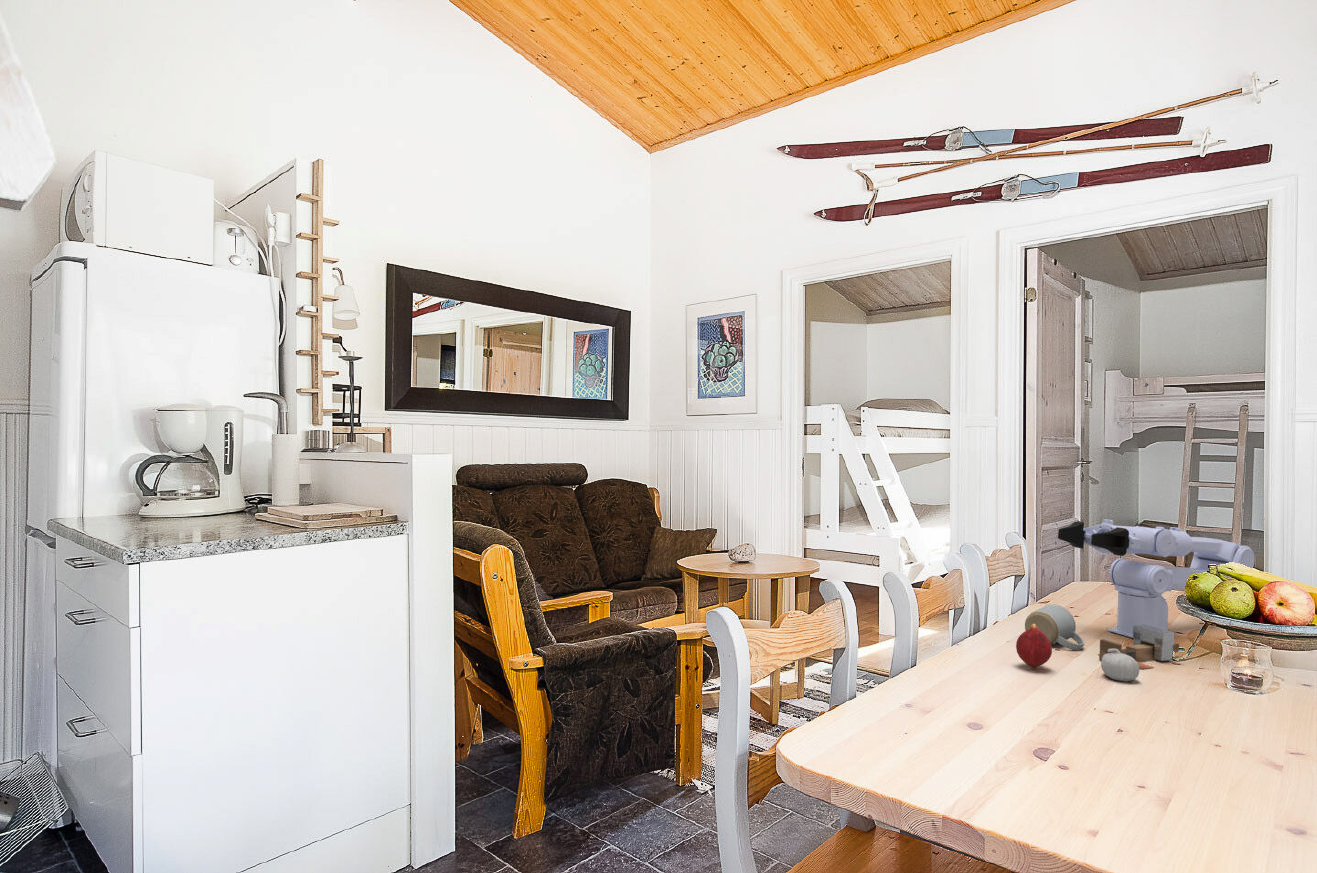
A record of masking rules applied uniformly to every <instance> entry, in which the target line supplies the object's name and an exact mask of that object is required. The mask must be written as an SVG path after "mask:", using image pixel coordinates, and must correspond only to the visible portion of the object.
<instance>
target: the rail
mask: <svg viewBox="0 0 1317 873" xmlns="http://www.w3.org/2000/svg"><path fill="white" fill-rule="evenodd" d="M1122 646H1123V645H1122V644H1121V643H1118V642H1115V641H1112V640H1108V639H1105V638H1102V639H1099V653H1097V656H1099V659H1098V660H1099V661H1100V662H1101V661H1102V657H1103V655H1104V654H1108V653H1117V652H1108V649H1118V650H1119V651H1120V653H1123V654H1127V655H1128V656H1131V657H1132V658H1133V659H1134V660H1135V661H1136V662H1137V663H1138V665H1139V670H1148V669H1154V668H1155V667H1154V666H1153V665H1149V664H1146V663H1142V662H1149V661H1157V659H1154V650H1155V644H1153V643H1148V644H1140V645H1133V644H1132V645H1126V646H1125V648H1123V647H1122ZM1173 651H1174V652H1175V653H1176V652H1178V651H1179V652H1180V643H1178V642H1174V645H1173Z"/></svg>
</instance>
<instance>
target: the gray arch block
mask: <svg viewBox="0 0 1317 873" xmlns="http://www.w3.org/2000/svg"><path fill="white" fill-rule="evenodd" d="M1132 639H1133V642H1132V643H1133V644H1132V645H1140V644H1148V643H1153V644H1155V650H1154V659H1157V660H1158V661H1161V662H1164V661H1172V660H1173V658H1172V654H1173V645H1174V643H1175V632H1174V631H1171V630H1168V629H1167V630H1163V629H1159V628H1156V627H1152V626H1148V625H1144V624H1143V625H1133V638H1132ZM1157 660H1156V661H1157Z"/></svg>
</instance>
